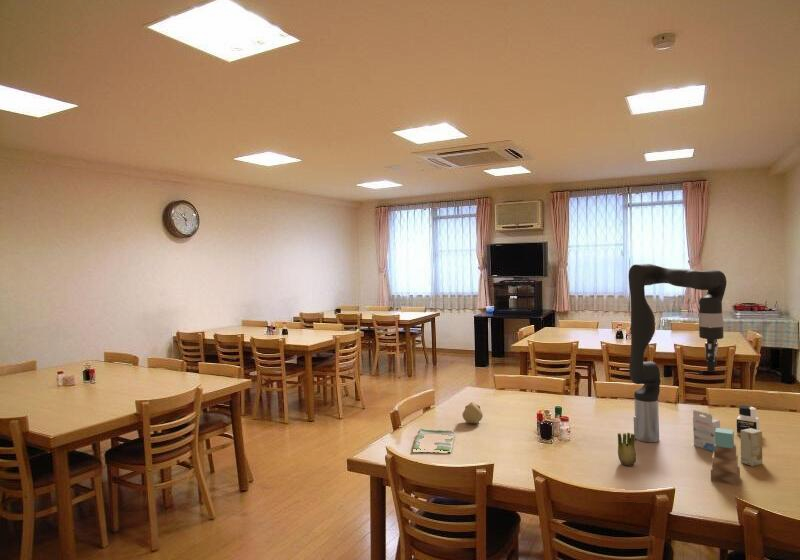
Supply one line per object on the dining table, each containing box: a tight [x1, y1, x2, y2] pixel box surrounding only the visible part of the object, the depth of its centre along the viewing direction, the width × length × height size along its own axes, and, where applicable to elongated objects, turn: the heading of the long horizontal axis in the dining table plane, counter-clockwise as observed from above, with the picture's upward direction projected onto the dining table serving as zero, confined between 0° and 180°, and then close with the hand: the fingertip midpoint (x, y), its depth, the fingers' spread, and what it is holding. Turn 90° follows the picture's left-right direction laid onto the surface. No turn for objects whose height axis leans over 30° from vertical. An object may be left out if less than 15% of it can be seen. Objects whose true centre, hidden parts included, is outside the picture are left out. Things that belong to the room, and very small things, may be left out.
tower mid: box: [711, 452, 739, 473], centre depth 174 cm, size 7×7×4 cm
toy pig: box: [462, 402, 484, 424], centre depth 246 cm, size 10×12×11 cm
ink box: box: [692, 409, 721, 452], centre depth 203 cm, size 9×5×15 cm, turn 23°
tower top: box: [713, 443, 737, 461], centre depth 174 cm, size 6×6×4 cm
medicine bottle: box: [736, 405, 760, 436], centre depth 216 cm, size 7×7×12 cm
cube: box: [715, 427, 735, 449], centre depth 174 cm, size 5×5×5 cm
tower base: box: [710, 465, 741, 487], centre depth 174 cm, size 8×8×4 cm
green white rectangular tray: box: [412, 428, 455, 451], centre depth 220 cm, size 17×23×4 cm
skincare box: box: [740, 428, 763, 467], centre depth 186 cm, size 6×4×12 cm
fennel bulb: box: [617, 432, 637, 467], centre depth 189 cm, size 6×5×12 cm
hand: (712, 369), depth 183 cm, fingers open, 8 cm apart
